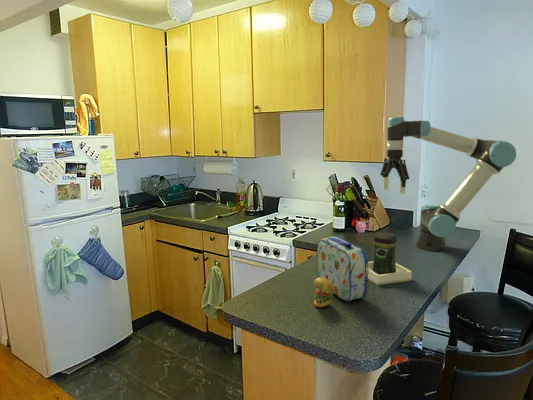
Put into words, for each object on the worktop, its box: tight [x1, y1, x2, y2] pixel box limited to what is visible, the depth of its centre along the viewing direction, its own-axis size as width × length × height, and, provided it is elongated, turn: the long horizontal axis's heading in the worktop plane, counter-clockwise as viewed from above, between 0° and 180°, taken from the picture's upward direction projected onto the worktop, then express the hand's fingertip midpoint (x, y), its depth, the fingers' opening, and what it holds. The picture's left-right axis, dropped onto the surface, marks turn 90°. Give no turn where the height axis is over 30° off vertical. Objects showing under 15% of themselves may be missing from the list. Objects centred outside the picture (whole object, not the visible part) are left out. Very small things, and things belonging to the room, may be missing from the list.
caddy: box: [367, 260, 413, 286], centre depth 167 cm, size 16×16×4 cm
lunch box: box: [316, 235, 370, 302], centre depth 150 cm, size 28×10×22 cm, turn 22°
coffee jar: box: [372, 231, 398, 275], centre depth 165 cm, size 10×8×19 cm
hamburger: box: [313, 277, 334, 308], centre depth 139 cm, size 8×7×12 cm
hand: (393, 191), depth 191 cm, fingers open, 13 cm apart
